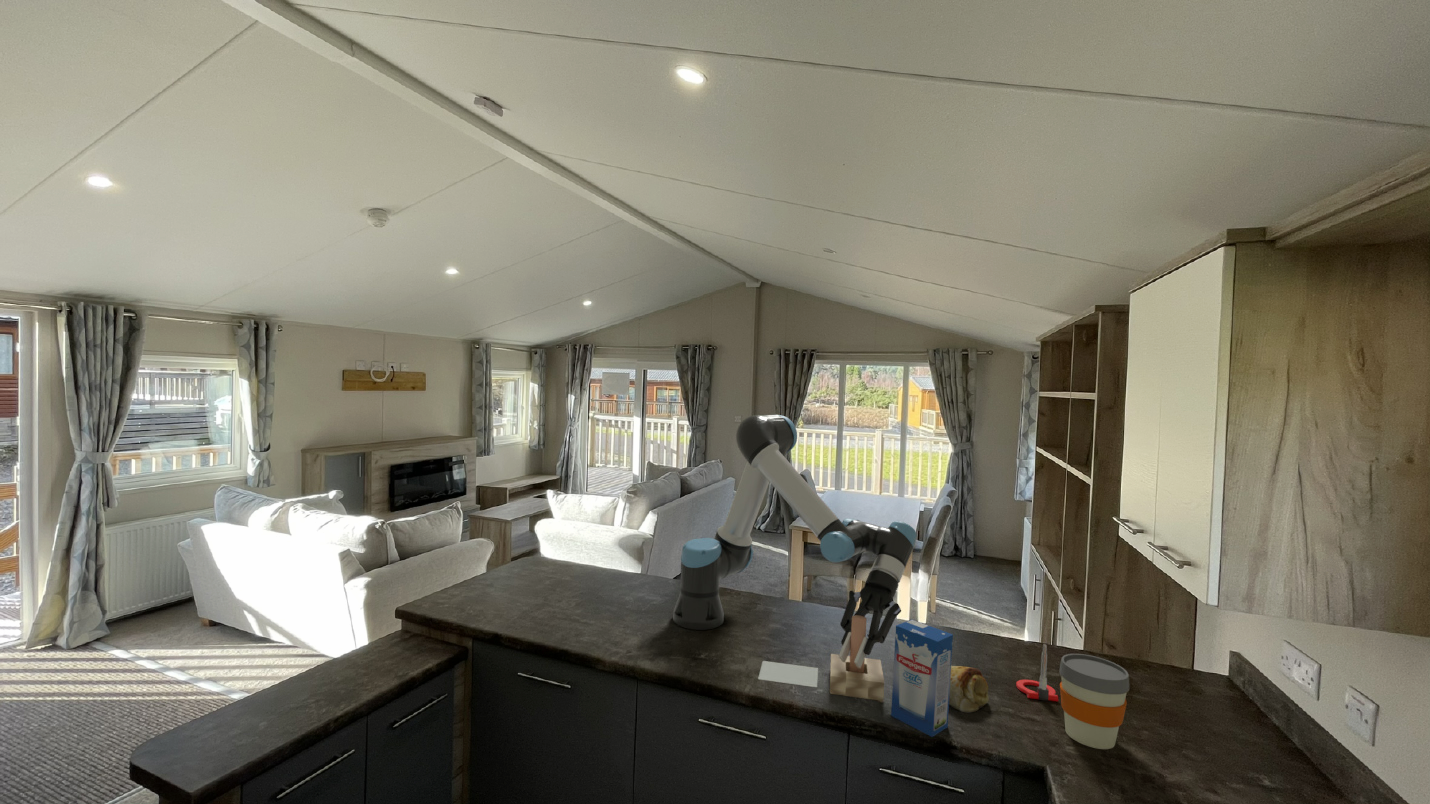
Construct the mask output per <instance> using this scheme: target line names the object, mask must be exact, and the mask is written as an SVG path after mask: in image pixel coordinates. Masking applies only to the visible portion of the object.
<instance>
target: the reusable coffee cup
mask: <svg viewBox="0 0 1430 804" xmlns="http://www.w3.org/2000/svg"><path fill="white" fill-rule="evenodd" d="M1058 671H1059V674H1060V678H1061V681H1060V683H1059V690H1060V691H1059V693H1060V703H1061V704H1060V705H1061V708H1062V709H1063V715H1064V716H1063V717H1064V725H1065V726H1064V727H1065V732H1066V735H1068V737H1069V738H1071V739H1072V740H1074V741H1076V742H1077V743H1079V744H1081V745H1084V746H1085V747H1086V746H1087V747H1090V748H1094V749H1099V750H1109V749H1113V748H1114V747H1115V746H1116V741H1117V737H1118V733H1119V727H1120V726H1121V725H1123V722H1124V718H1125V712H1126V709H1127V705H1128V702H1127V699H1126V696H1127V693H1128V692H1130V678H1129V677H1130V676H1129V673H1128V671H1127V670H1126V668H1124V667H1122V666H1121V665H1119V664H1118V663H1117V664H1116V663H1115V662H1113V661H1111V660H1107V659H1105V658H1103V657H1098V656H1094V655H1090V654H1084V653H1083V654H1082V653H1067V654H1064V655H1063V656H1062V657H1061V660H1060V665H1059V670H1058Z"/></svg>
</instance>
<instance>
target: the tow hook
mask: <svg viewBox="0 0 1430 804" xmlns="http://www.w3.org/2000/svg"><path fill="white" fill-rule="evenodd" d="M1047 647H1048V646H1047V644H1045V643H1044V644H1042V652H1041V658H1040V676H1039V681H1037V680H1032V679H1019V680H1017V681H1016V682H1015V683H1016V684H1015V685H1016V688H1017V689H1018V690H1019V691H1021V692H1022V693H1023V694H1026V698H1028V699H1034V700H1038V701H1046V702H1047V701H1050V702H1059V696H1058V694H1057V692H1056V690H1055V689H1054V688H1053V687H1052V686H1050V685H1049V684H1048V678H1047V668H1048V667H1047V666H1048V653H1047V650H1048V649H1047ZM1026 686H1035V687H1036V691H1035V690H1031V689H1030V688H1027V687H1026Z"/></svg>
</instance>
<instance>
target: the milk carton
mask: <svg viewBox="0 0 1430 804" xmlns="http://www.w3.org/2000/svg"><path fill="white" fill-rule="evenodd" d="M953 639H954V634H952V633H950V632H947V631H944V630H942V629H939V628H937V627H933V626H930V625H927V624H926V623H923V622H920V621H917V620H915V619H909V620H907V621H904V622H902V623H899V624H896V625H895V638H894V654H893V655H894V657H893V672H892V673H893V675H892V690H891V691H892V692H891V695H892V696H891V707H890V708H891V711H890V712H891V713H890V716H891V717H892V718H895V719H896V720H898V721H900V722H902V723H904V724H906V725H907V726H910V727H912V728H914V729H916V730H917V731H920V732H922V733H923V734H925V735H927V736H929V737H931V738H933V737H935V736H936V735H937V734H939V733H942V732H943V731H944V730H945V729H947V728H949V715H950V712H949V711H950V709H949V708H950V705H949V696H950V679H951V666H952V660H953V659H952V658H953V657H952V656H953V643H954V642H953V641H954V640H953Z"/></svg>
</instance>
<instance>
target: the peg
mask: <svg viewBox="0 0 1430 804" xmlns="http://www.w3.org/2000/svg"><path fill="white" fill-rule="evenodd" d="M854 615H855V614H854ZM854 615H853V616H852V626H851V647H850V652H849V656H850V667H849V671H850V672H857V673H864V661H865V658H866V657H865V658H864V661H863V663H862V666H861V668H858V667H857V666H856V664H855V663H854V661H855V658H856V656H857V653H858V651H859V648H860V646H861V644H862V641H863V639H864V637H866V636H867V617H866V616H865V617H863V616H859V615H855V616H854Z"/></svg>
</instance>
